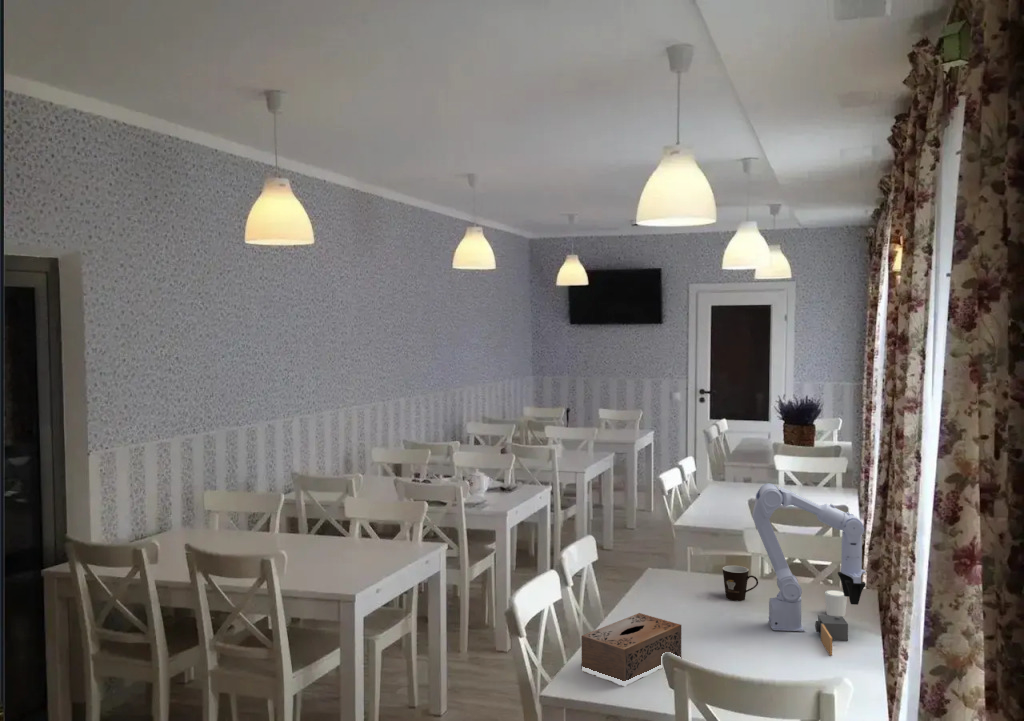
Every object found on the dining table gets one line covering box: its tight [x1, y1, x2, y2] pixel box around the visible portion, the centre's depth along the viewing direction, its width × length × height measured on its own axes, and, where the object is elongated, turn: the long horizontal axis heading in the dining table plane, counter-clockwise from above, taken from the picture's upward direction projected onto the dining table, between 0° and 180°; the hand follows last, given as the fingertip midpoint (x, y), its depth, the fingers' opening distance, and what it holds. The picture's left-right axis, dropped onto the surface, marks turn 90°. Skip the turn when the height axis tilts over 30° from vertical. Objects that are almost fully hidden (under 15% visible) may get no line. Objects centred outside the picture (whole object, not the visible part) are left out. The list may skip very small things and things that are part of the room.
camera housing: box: [814, 614, 849, 642], centre depth 259 cm, size 8×7×6 cm
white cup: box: [824, 589, 848, 618], centre depth 278 cm, size 7×7×7 cm
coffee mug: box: [722, 565, 759, 602], centre depth 294 cm, size 12×9×10 cm
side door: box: [820, 623, 833, 656], centre depth 250 cm, size 12×1×5 cm, turn 172°
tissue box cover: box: [580, 612, 682, 681], centre depth 238 cm, size 26×14×10 cm, turn 135°
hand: (851, 600), depth 263 cm, fingers open, 7 cm apart
